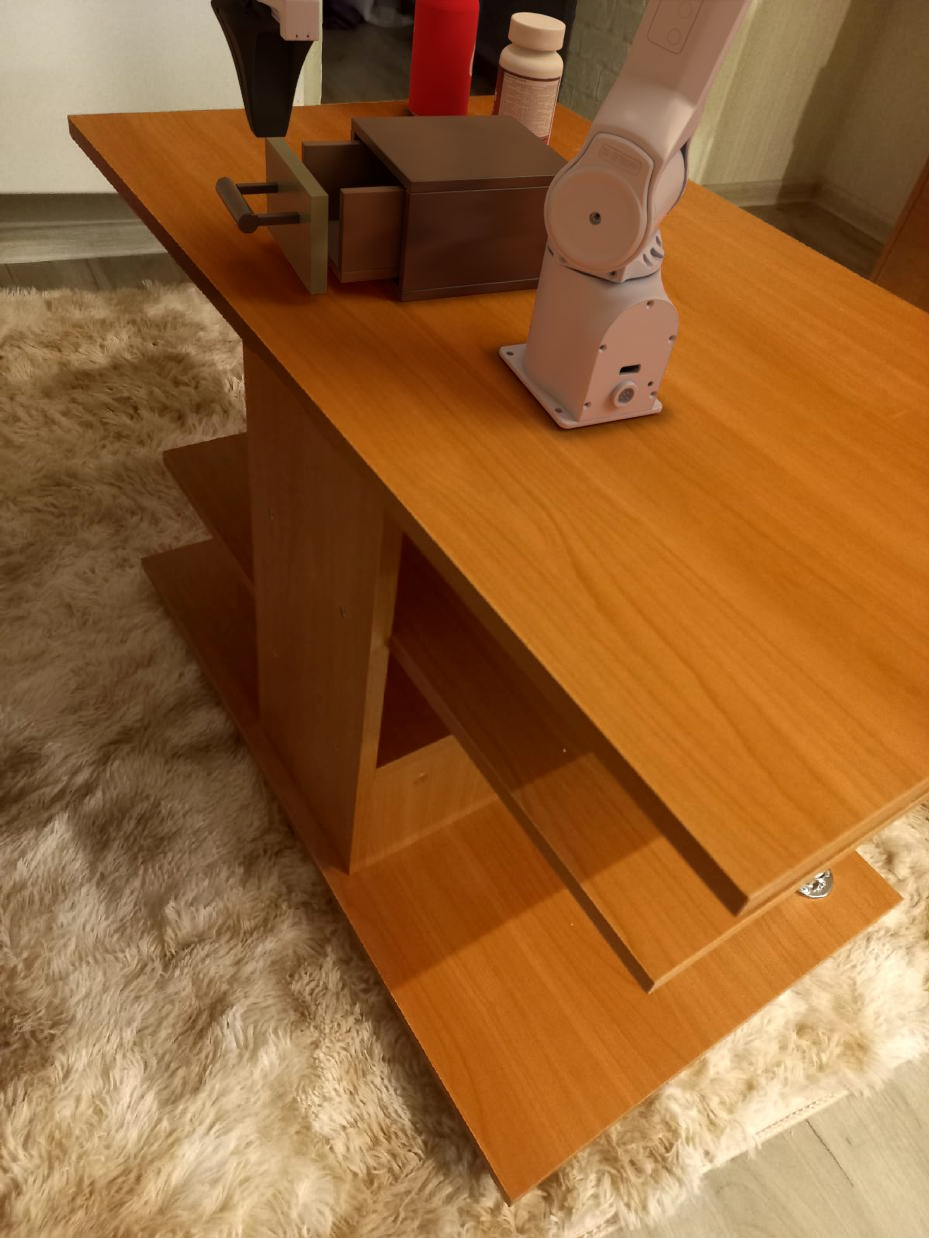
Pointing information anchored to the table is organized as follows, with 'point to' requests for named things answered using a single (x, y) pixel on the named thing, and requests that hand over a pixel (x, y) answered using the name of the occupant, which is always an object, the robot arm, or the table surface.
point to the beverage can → (442, 57)
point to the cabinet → (465, 201)
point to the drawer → (326, 210)
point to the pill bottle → (530, 72)
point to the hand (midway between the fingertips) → (268, 133)
